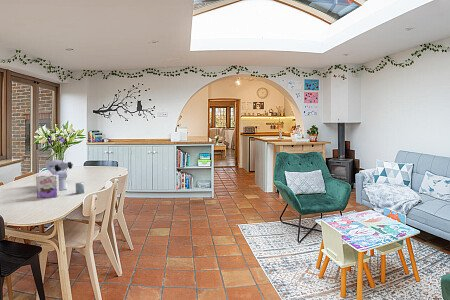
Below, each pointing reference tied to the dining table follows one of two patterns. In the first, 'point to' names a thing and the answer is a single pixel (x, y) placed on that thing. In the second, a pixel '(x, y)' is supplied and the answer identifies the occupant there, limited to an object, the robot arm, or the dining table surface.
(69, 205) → the dining table surface
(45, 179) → the candy box
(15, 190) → the dining table surface
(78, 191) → the rounded blue cylinder
